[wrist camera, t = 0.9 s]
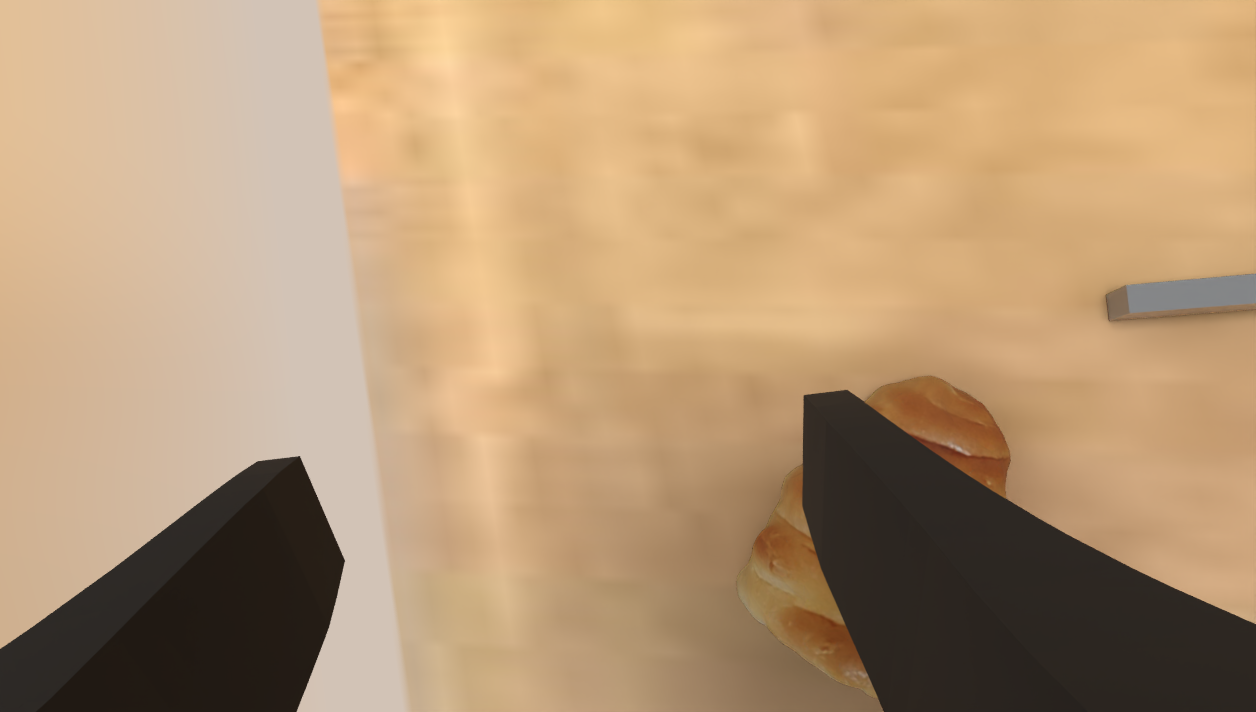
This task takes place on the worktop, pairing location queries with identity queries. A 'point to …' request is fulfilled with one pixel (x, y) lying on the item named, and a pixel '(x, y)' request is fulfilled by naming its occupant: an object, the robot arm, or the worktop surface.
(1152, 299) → the grey u-shaped bracket
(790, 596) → the pastry
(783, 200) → the worktop surface
